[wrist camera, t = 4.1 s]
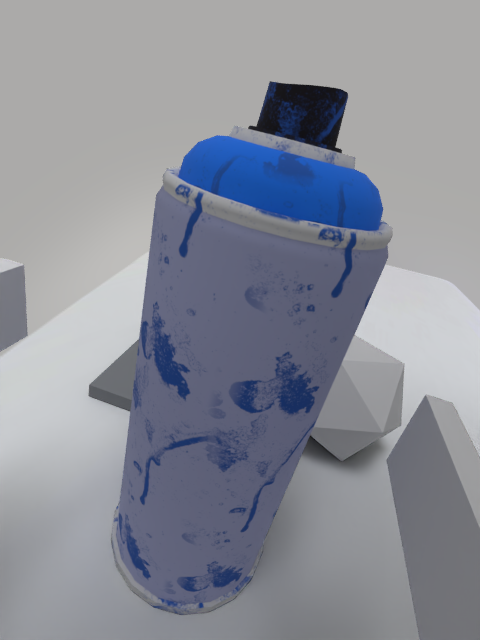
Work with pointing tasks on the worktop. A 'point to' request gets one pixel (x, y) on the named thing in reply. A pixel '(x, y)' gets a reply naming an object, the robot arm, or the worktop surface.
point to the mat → (117, 380)
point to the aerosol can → (240, 342)
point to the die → (361, 401)
